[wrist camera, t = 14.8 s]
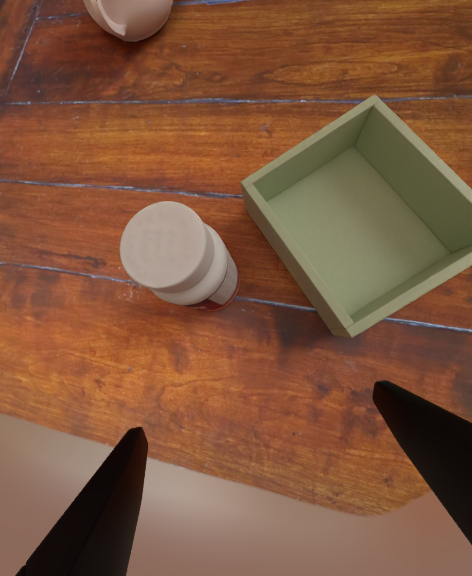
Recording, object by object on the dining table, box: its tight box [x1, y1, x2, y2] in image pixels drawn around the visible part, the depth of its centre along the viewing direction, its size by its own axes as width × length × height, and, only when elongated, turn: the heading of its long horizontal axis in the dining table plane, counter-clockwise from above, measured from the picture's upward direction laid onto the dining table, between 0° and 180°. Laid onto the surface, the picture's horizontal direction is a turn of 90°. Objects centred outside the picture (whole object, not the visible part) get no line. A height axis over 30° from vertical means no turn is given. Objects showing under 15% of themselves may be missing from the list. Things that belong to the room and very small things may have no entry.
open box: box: [241, 95, 472, 338], centre depth 20 cm, size 16×14×5 cm
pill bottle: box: [120, 201, 240, 311], centre depth 18 cm, size 6×6×11 cm
